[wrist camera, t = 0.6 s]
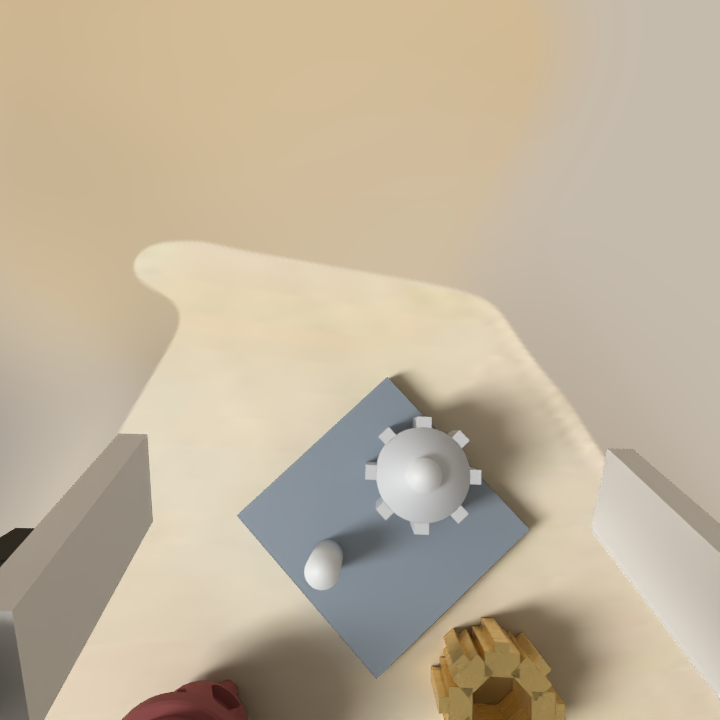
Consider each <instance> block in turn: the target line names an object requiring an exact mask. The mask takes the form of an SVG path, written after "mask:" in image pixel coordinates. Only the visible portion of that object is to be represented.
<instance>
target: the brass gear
mask: <svg viewBox="0 0 720 720" xmlns="http://www.w3.org/2000/svg"><path fill="white" fill-rule="evenodd" d="M444 640H445V643H446V646H447V647H446V648H445V649H444V650H443V652H444V655H445V657H440V667H436V666H431V682H432V686H433V691H434V695H435V699H436V703H437V708H438V712H439V713H443V717H444V720H565V703H564V702H563V701H562V699H561V698H560V696H559V695H558V693H557V692H556V691H555V689H554V688H553V686H552V684H551V682H550V681H549V679H548V678H547V677H546V675H547V674H548V673H549V672H550V671H551V670H552V669H551V668H550V667H549V665H548V664H547V663H546V661H545V660H544V659H543V658H542V656H541V655H540V654H539V652H538V651H537V650H536V648H535V647H534V646H533V644H532V643H531V642H530V641H529V640H528V638H527V637H526V636H525V635H524V634H523V633H522V632H521V633H520V634H519V635H518V636H517V637H516V638H515V637H514V636H513V634H512V633H511V632H510V631H508V632H507V633H506V632H505V630H504V629H503V628H500V627H499V625H498V624H497V622H496V621H495V619H494V618H481V626H472V635H471V634H470V633H469V632H468V631H467V630H466V629H464V630H463V631H462V632H461V633H460V634H459V635H458V633H457V632H456V631H455V630H454V629H452V630H451V631H450V632H449V633H448V634H447V635H446V636H445V637H444ZM489 677H506V678H513V690H512V691H511V692H510V693H509V694H508V695H507V696H506V697H505V698H504V699H503V700H502V701H501V702H500V703H499V704H498V705H491V704H475V702H474V701H473V700H472V694H473V693H474V692H475V691H476V690H477V689H478V688H479V687H480V686H481V685H482V684H483V683H484V682H485V681H486V680H487V679H488V678H489Z"/></svg>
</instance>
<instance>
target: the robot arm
mask: <svg viewBox="0 0 720 720" xmlns="http://www.w3.org/2000/svg"><path fill="white" fill-rule="evenodd" d="M152 522H153V517H152V501H151V486H150V470H149V455H148V439H147V435H145V434H118V435H117V436H116V437H115V439H114V440H113V441H112V442H111V443H110V444H109V445H108V446H107V448H106V449H105V450H104V451H103V452H102V453H101V455H100V456H99V457H98V458H97V459H96V460H95V461H94V462H93V463H92V465H91V466H90V467H89V468H88V469H87V470H86V471H85V473H84V474H83V475H82V476H81V477H80V478H79V479H78V480H77V482H76V483H75V484H74V485H73V486H72V487H71V488H70V489H69V490H68V492H67V493H66V494H65V495H64V496H63V497H62V498H61V499H60V501H59V502H58V503H57V504H56V505H55V506H54V507H53V509H52V510H51V511H50V512H49V513H48V514H47V515H46V516H45V517H44V519H43V520H42V521H41V522H40V523H39V524H38V525H37V527H36V528H32V529H31V528H15V529H13V530H12V531H10V532H9V533H7V534H5V535H3V536H2V537H0V720H44V719H45V717H46V715H47V713H48V711H49V710H50V708H51V706H52V704H53V702H54V700H55V699H56V697H57V695H58V693H59V691H60V689H61V688H62V686H63V684H64V682H65V680H66V679H67V677H68V675H69V673H70V671H71V669H72V668H73V666H74V664H75V662H76V660H77V658H78V657H79V655H80V653H81V651H82V649H83V648H84V646H85V644H86V642H87V640H88V638H89V637H90V635H91V633H92V631H93V629H94V627H95V626H96V624H97V622H98V620H99V618H100V617H101V615H102V613H103V611H104V609H105V607H106V606H107V604H108V602H109V600H110V598H111V596H112V595H113V593H114V591H115V589H116V587H117V586H118V584H119V582H120V580H121V578H122V576H123V575H124V573H125V571H126V569H127V567H128V565H129V564H130V562H131V560H132V558H133V556H134V555H135V553H136V551H137V549H138V547H139V545H140V544H141V542H142V540H143V538H144V536H145V534H146V533H147V531H148V529H149V527H150V525H151V524H152ZM591 531H592V533H593V534H594V535H595V537H596V538H597V539H598V541H599V542H600V543H601V544H602V546H603V547H604V548H605V550H606V551H607V552H608V554H609V555H610V556H611V558H612V559H613V560H614V562H615V563H616V564H617V566H618V567H619V568H620V569H621V571H622V572H623V573H624V575H625V576H626V577H627V579H628V580H629V581H630V583H631V584H632V585H633V587H634V588H635V589H636V591H637V592H638V593H639V594H640V596H641V597H642V598H643V600H644V601H645V602H646V604H647V605H648V606H649V608H650V609H651V610H652V612H653V613H654V614H655V615H656V617H657V618H658V619H659V621H660V622H661V623H662V625H663V626H664V627H665V629H666V630H667V631H668V633H669V634H670V635H671V637H672V638H673V639H674V640H675V642H676V643H677V644H678V646H679V647H680V648H681V650H682V651H683V652H684V654H685V655H686V656H687V658H688V659H689V660H690V661H691V663H692V664H693V665H694V667H695V668H696V669H697V671H698V672H699V673H700V675H701V676H702V677H703V679H704V680H705V681H706V683H707V684H708V685H709V686H710V688H711V689H712V690H713V692H714V693H715V694H716V696H717V697H718V698H719V700H720V523H718V522H717V521H716V520H715V519H714V518H713V517H711V516H710V515H709V514H708V513H706V512H705V511H704V510H703V509H702V508H701V507H700V506H699V505H697V504H696V503H695V502H694V501H693V500H692V499H690V498H689V497H688V496H687V495H686V494H685V493H683V492H682V491H681V490H680V489H679V488H678V487H676V486H675V485H674V484H673V483H672V482H671V481H669V480H668V479H667V478H666V477H664V475H662V474H661V473H660V472H659V471H658V470H657V469H655V468H654V467H653V466H652V465H651V464H650V463H649V462H647V461H646V460H645V459H644V458H643V457H642V456H640V455H639V454H638V453H637V452H636V451H635V450H633V449H608V450H607V454H606V459H605V464H604V468H603V473H602V478H601V483H600V488H599V493H598V497H597V502H596V507H595V512H594V517H593V522H592V526H591Z"/></svg>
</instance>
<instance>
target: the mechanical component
mask: <svg viewBox="0 0 720 720" xmlns="http://www.w3.org/2000/svg"><path fill="white" fill-rule="evenodd" d="M237 694H238V689H237V686H236V685H235V683H234V682H232V681H229V680H226V681H223V682H221V683H220V684H218V683H216V682H211V681H196V682H191V683H188V684H186V685H183V686H182V687H180V688H179V689H177V690H176V691H175V692H169V693H164V694H160V695H157V696H154V697H152V698H149V699H148V700H146V701H144V702H142V703H140V704H139V705H138V706H136V707H135V708H133V709H132V710H131V711H130V712H129V713H128V714H127V715H126V716H125V717H124V718H123V719H122V720H248V717H247V714H246V711H245V708H244V707H243V705H242V703H241V701H240V700H239V699H238V697H237Z"/></svg>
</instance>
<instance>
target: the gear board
mask: <svg viewBox="0 0 720 720" xmlns="http://www.w3.org/2000/svg"><path fill="white" fill-rule="evenodd" d="M469 441H470V440H469V439H468V438H467V437H466V436H465V435H464V434H463V433H462V432H461V431H460V430H451V431H450V432H449V433H448V434H446V433H444V432H442V431H439V430H437V429H435V428H434V427H433V425H432V417H424V416H423V415H422V414H421V413H420V412H419V410H418V409H417V408H416V407H415V406H414V405H413V404H412V403H411V402H410V401H409V400H408V399H407V398H406V397H405V395H404V394H403V393H402V392H401V391H400V390H399V389H398V388H397V387H396V386H395V385H394V384H393V383H392V381H391V380H390V379H389V378H388V377H387V378H386V379H385V380H383V381H382V382H381V383H380V384H379V385H378V386H377V387H376V388H375V389H374V390H373V391H372V392H370V393H369V394H368V395H367V396H366V397H365V398H364V399H363V400H362V401H361V402H360V403H359V404H357V405H356V406H355V407H354V408H353V409H352V410H351V411H350V412H349V413H348V414H347V415H345V416H344V417H343V418H342V419H341V420H340V421H339V422H338V423H337V424H336V425H335V426H334V427H332V428H331V429H330V430H329V431H328V432H327V433H326V434H325V435H324V436H323V437H322V438H321V439H319V440H318V441H317V442H316V443H315V444H314V445H313V446H312V447H311V448H310V449H309V450H307V451H306V452H305V453H304V454H303V455H302V456H301V457H300V458H299V459H298V460H297V461H296V462H294V463H293V464H292V465H291V466H290V467H289V468H288V469H287V470H286V471H285V472H284V473H283V474H281V475H280V476H279V477H278V478H277V479H276V480H275V481H274V482H273V483H272V484H271V485H269V486H268V487H267V488H266V489H265V490H264V491H263V492H262V493H261V494H260V495H259V496H258V497H256V498H255V499H254V500H253V501H252V502H251V503H250V504H249V505H248V506H247V507H246V508H245V509H243V510H242V511H241V512H240V513H239V514H238V515H237V516H238V517H239V519H240V520H241V521H242V522H243V523H244V524H245V526H246V527H247V528H248V529H249V530H250V532H251V533H252V534H253V535H254V536H255V537H256V539H257V540H258V541H259V542H260V543H261V544H262V546H263V547H264V548H265V549H266V550H267V551H268V553H269V554H270V555H271V556H272V557H273V558H274V560H275V561H276V562H277V563H278V564H279V565H280V567H281V568H282V569H283V570H284V571H285V572H286V574H287V575H288V576H289V577H290V578H291V579H292V581H293V582H294V583H295V584H296V585H297V586H298V588H299V589H300V590H301V591H302V592H303V594H304V595H305V596H306V597H307V598H308V599H309V601H310V602H311V603H312V604H313V605H314V606H315V608H316V609H317V610H318V611H319V612H320V613H321V615H322V616H323V617H324V618H325V619H326V620H327V622H328V623H329V624H330V625H331V626H332V627H333V629H334V630H335V631H336V632H337V633H338V634H339V636H340V637H341V638H342V639H343V640H344V641H345V643H346V644H347V645H348V646H349V647H350V648H351V650H352V651H353V652H354V653H355V654H356V655H357V657H358V658H359V659H360V660H361V661H362V663H363V664H364V665H365V666H366V667H367V668H368V670H369V671H370V672H371V673H372V674H373V675H374V677H375V678H376V679H377V678H378V677H379V676H380V675H381V674H382V673H383V672H384V671H385V670H386V669H387V668H388V667H389V666H390V665H391V664H392V663H393V662H394V661H395V660H396V659H397V658H398V657H399V656H400V655H401V654H402V653H403V652H404V651H405V650H406V649H407V648H408V647H410V646H411V645H412V644H413V643H414V642H415V641H416V640H417V639H418V638H419V637H420V636H421V635H422V634H423V633H424V632H425V631H426V630H427V629H428V628H429V627H430V626H431V625H432V624H433V623H434V622H435V621H436V620H437V619H438V618H439V617H440V616H441V615H442V614H443V613H444V612H445V611H446V610H447V609H448V608H450V607H451V606H452V605H453V604H454V603H455V602H456V601H457V600H458V599H459V598H460V597H461V596H462V595H463V594H464V593H465V592H466V591H467V590H468V589H469V588H470V587H471V586H472V585H473V584H474V583H475V582H476V581H477V580H478V579H479V578H480V577H481V576H482V575H483V574H484V573H485V572H486V571H487V570H488V569H490V568H491V567H492V566H493V565H494V564H495V563H496V562H497V561H498V560H499V559H500V558H501V557H502V556H503V555H504V554H505V553H506V552H507V551H508V550H509V549H510V548H511V547H512V546H513V545H514V544H515V543H516V542H517V541H518V540H519V539H520V538H521V537H522V536H523V535H524V534H525V533H526V532H527V531H528V530H530V529H529V528H528V527H527V526H526V525H525V524H524V523H523V522H522V521H521V520H520V519H519V518H518V517H517V516H516V514H515V513H514V512H513V511H512V510H511V509H510V508H509V507H508V506H507V505H506V504H505V503H504V502H503V501H502V499H501V498H500V497H499V496H498V495H497V494H496V493H495V492H494V491H493V490H492V489H491V488H490V487H489V486H488V484H487V483H486V482H485V481H484V480H483V479H482V478H481V470H479V469H476V468H473V467H471V466H470V465H469V463H468V459H467V457H466V455H465V453H464V451H463V449H462V448H463V447H464V446H465V445H466V444H467V443H468V442H469Z"/></svg>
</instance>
